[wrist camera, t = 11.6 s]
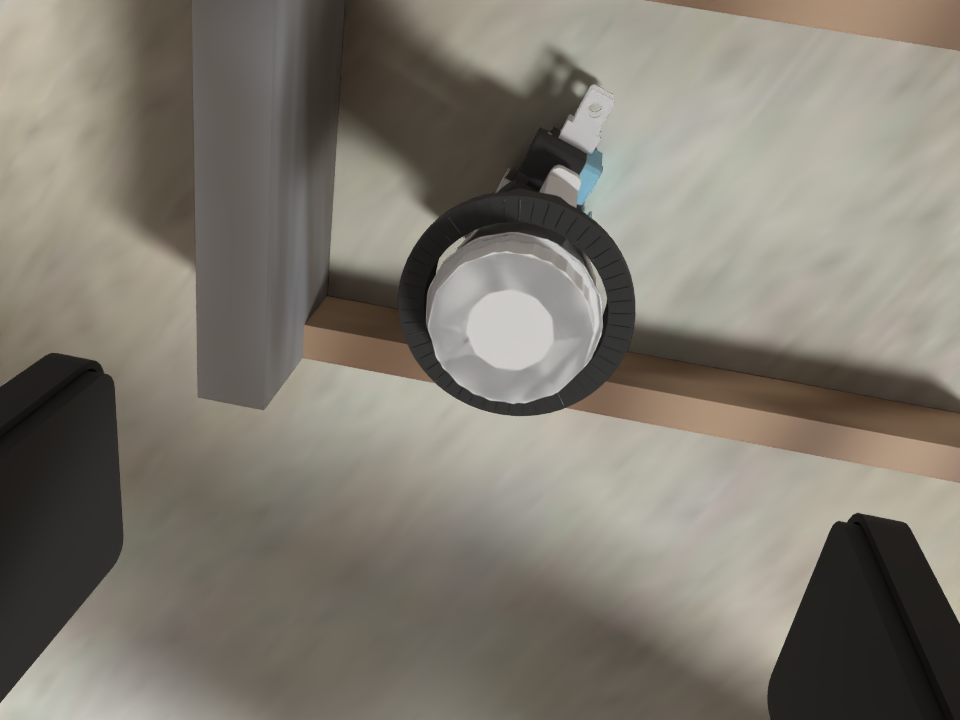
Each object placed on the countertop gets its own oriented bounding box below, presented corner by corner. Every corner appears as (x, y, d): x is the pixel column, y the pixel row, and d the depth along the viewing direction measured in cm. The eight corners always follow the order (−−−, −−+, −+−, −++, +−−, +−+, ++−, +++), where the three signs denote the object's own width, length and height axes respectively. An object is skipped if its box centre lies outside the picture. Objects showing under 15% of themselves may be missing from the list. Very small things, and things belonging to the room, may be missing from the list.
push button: (527, 44, 25) (483, 99, 16) (683, 130, 25) (724, 231, 16) (432, 234, 28) (351, 369, 19) (574, 308, 28) (558, 475, 19)
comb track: (1172, 28, 22) (1347, 54, 17) (968, 449, 29) (1051, 564, 23) (282, -112, 24) (189, -128, 19) (270, 317, 30) (197, 398, 25)
